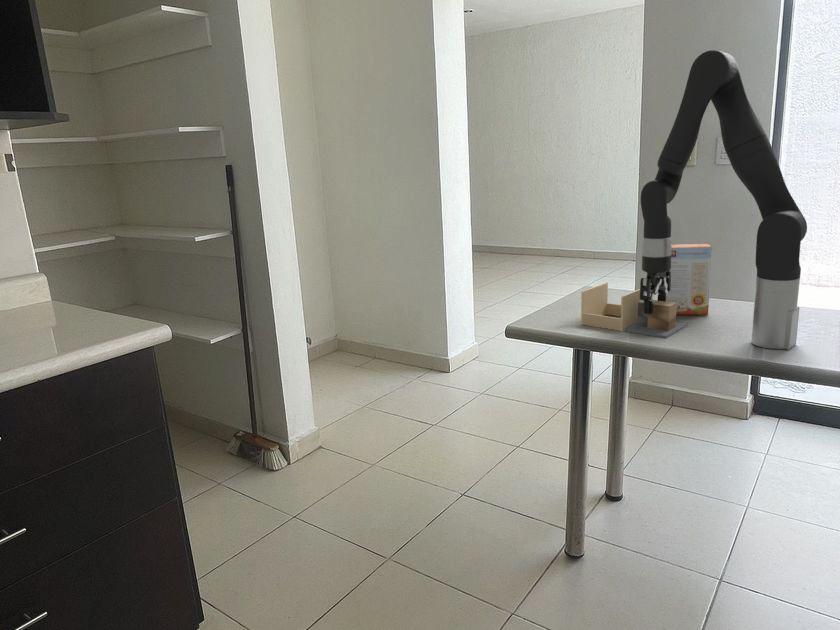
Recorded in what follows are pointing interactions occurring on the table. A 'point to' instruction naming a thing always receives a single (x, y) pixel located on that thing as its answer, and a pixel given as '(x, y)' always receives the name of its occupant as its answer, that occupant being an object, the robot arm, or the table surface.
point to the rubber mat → (655, 330)
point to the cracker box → (690, 278)
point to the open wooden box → (608, 309)
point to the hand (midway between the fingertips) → (655, 310)
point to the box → (658, 315)
